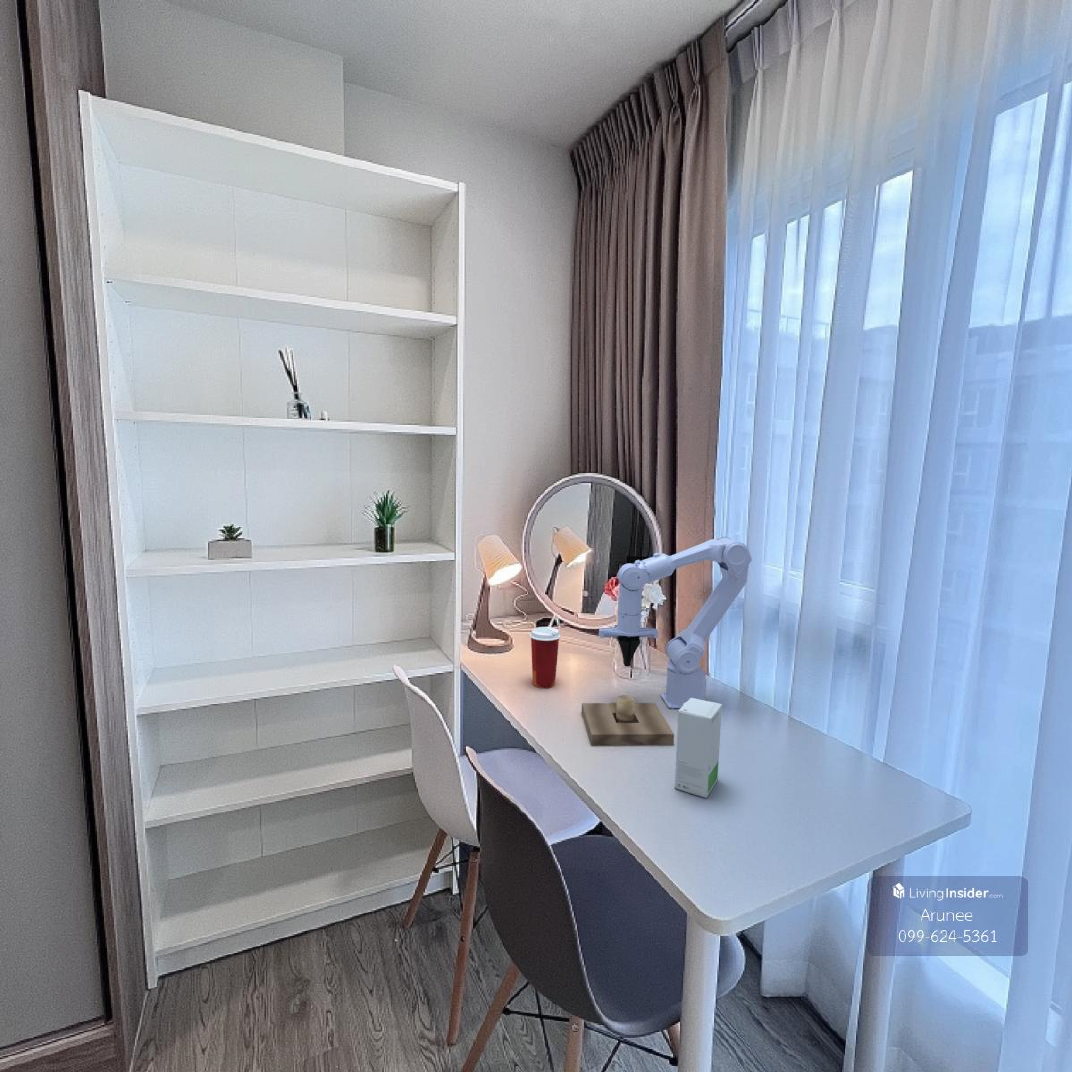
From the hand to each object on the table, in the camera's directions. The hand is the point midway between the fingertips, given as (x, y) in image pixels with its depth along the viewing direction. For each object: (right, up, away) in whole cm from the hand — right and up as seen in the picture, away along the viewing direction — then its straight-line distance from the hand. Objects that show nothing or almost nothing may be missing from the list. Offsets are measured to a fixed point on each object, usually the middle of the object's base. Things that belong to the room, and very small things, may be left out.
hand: (626, 664), depth 148 cm
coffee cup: (-21, -8, +12) cm, 25 cm away
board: (-2, -12, -13) cm, 17 cm away
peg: (-2, -12, -12) cm, 17 cm away
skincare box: (+8, -15, -35) cm, 39 cm away
